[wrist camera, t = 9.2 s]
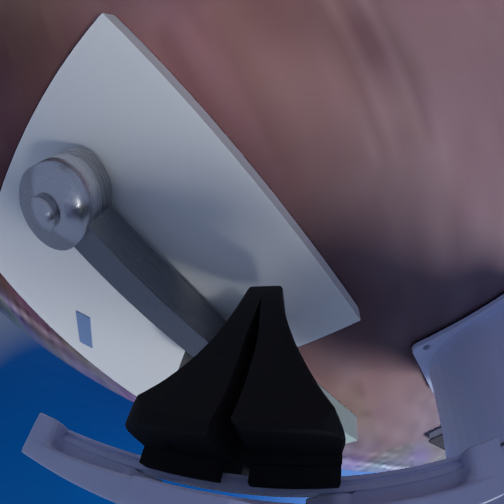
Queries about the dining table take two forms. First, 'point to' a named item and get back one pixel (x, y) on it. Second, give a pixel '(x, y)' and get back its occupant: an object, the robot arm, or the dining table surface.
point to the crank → (112, 245)
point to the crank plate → (156, 212)
